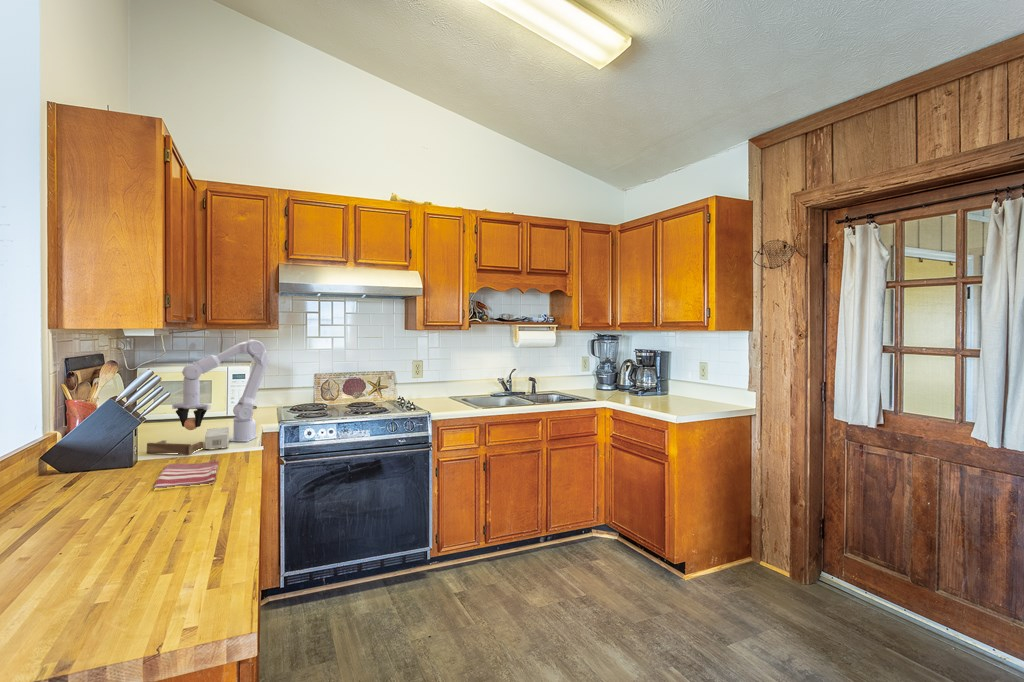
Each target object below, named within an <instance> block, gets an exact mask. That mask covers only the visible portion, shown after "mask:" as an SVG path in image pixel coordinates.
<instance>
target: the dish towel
mask: <svg viewBox="0 0 1024 682" xmlns="http://www.w3.org/2000/svg"><path fill="white" fill-rule="evenodd" d="M219 463H220V462H219V460H212V461H210V462H208V461H207V462H201V463H179V462H178V463H171V464H167V465H164V466H163V468H162V471H161V472H160V475H159V476H158V477H157V478H156V481H155V482H154V484H153V488H154V489H155V488H167V487H175V486H190V485H200V484H209V483H213V484H214V483H215V482H216V481H215V479H216V480H217V476H218V475H217V473H218V468H219Z"/></svg>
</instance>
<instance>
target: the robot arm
mask: <svg viewBox="0 0 1024 682" xmlns="http://www.w3.org/2000/svg"><path fill="white" fill-rule="evenodd" d="M239 354H242V355H243V354H244V355H245V354H246V355H247V354H249V355H250V356H251V358H252V360H253V361H254V364H253V367H252V369H251V372H250V374H249V377H248V380H247V383H246V386H245V388H244V390H243V393H242V395H241V397H240V398H239V400H238V402H237V403H236V405H235V406H234V407H233V409H232V412H233V414H234V415H235V417H234V418H233V433H232V434H233V435H232V436H233V438H231V439H229V442H236V443H237V442H241V443H248V442H250V441H252V440H254V439H257V438H258V437H259V436H258V435H257V421H256V420H255V419H254V418H253V415H254V406H255V399H256V396H257V393H258V390H259V388H260V385H261V382H262V380H263V377H264V374H265V371H266V369H267V366H268V363H269V358H268V353H267V349H266V346H265V345H264V343H263V342H261V340H257V339H252V338H251V339H250V338H249V339H247V340H246V341H242V342H240V343H236V344H235V345H233V346H231V347H229V348H227V349H225V350H224V351H222V352H220V353H218V354H216V355H214V354H205V355H204V356H203V358H201V359H199V360H197V361H196V360H195V361H192V364H186V366H184V367H183V369H182V371H181V373H182V375H183V384H182V386H183V387H182V393H183V394H182V395H183V396H182V397H183V399H182V402H181V403H172V405H171V406H172V410H175V409H176V410H175V414H176V415H177V416H178V418H179V420H180V423H181V426H182V427H184V428H185V426H184V423H185V421H186V420H187V419H189V418H188V416H189V411H190V410H193V414H194V418H195V425H196V427H197V428H200V427H201V426H202V422H203V419H204V416H205V414H206V413H207V411H209V410H211V404H208V403H207V404H206V403H200V401H201V400H200V398H201V397H200V395H201V394H200V392H201V391H200V389H201V387H200V385H201V383H200V377H201V375H202V374H204V375H205V373H208V372H210V371H212V370H213V369H216V368H218V367H219V365H220V363H221V362H223V361H226V360H227V359H230V358H232V357H234V356H236V355H239Z"/></svg>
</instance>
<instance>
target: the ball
mask: <svg viewBox="0 0 1024 682" xmlns="http://www.w3.org/2000/svg"><path fill="white" fill-rule="evenodd" d="M184 426H185V427H184V428H185V429H186V430H188V431H194V430H195V429H197V428H198V427H196V425H195V417H190V418H187V420H186V421H185V423H184Z"/></svg>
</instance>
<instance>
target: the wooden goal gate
mask: <svg viewBox="0 0 1024 682" xmlns="http://www.w3.org/2000/svg"><path fill="white" fill-rule="evenodd" d="M201 448H203V449H204V441H199V442H196V443H193V444H191V443H170V442H169V443H168V442H167V440H166V439H163V440H160V441H158V442H148V443H146V454H147V453H178V454H183V455H182V456H190V455H193V454H194V453H193V452H194V451H196V450H198V449H201ZM192 453H193V454H192Z"/></svg>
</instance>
